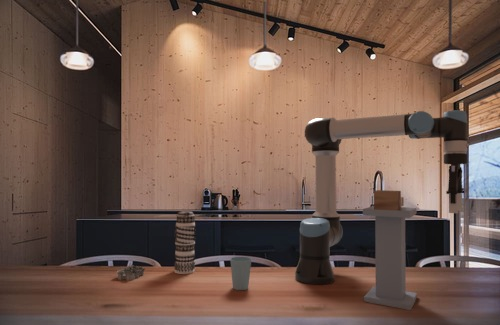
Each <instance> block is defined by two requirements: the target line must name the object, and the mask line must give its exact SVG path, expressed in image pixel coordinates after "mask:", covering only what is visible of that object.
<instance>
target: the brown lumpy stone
mask: <svg viewBox="0 0 500 325" xmlns="http://www.w3.org/2000/svg"><path fill="white" fill-rule="evenodd" d="M145 270H146V267H143V266H138V265H134V264H131V265H128V266H127V267H124V268H121V269H118V270H117V271H116V275H117V279H118V280H119V281H122V280H126V281H134V280H135V279H138V278H140V276H141V277H142V276H145V274H144V272H145Z"/></svg>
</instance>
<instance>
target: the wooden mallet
mask: <svg viewBox="0 0 500 325" xmlns="http://www.w3.org/2000/svg"><path fill="white" fill-rule="evenodd" d="M404 200H405V198H404V196H402V191H401V190H386V189H385V190H383V189H380V190H373V206H374V210H393V211H398V210H400V209H401V207H404V205H405V204H404V203H405V201H404Z"/></svg>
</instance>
